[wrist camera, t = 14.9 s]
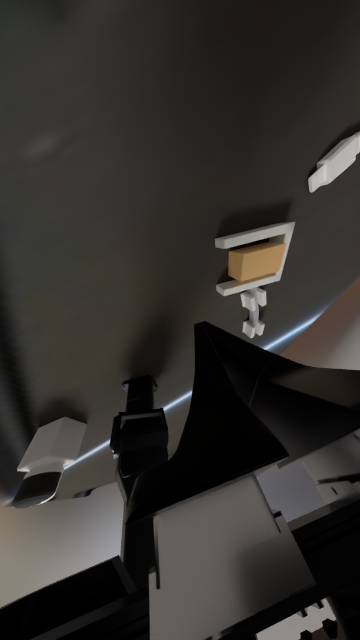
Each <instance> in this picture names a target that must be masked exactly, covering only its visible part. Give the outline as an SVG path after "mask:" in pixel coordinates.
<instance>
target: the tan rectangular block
mask: <svg viewBox="0 0 360 640" xmlns="http://www.w3.org/2000/svg"><path fill="white" fill-rule="evenodd" d="M285 246H286V243H273V242H264V243H260V244H256V245H253V246H249V247H245V248H241V249H237V250H233V251H229V266H228V276H230V277H232V278H234V279H236V280H238V281H240V282H242V281H245V280H249V279H253V278H256V277H260V276H263V275H267V274H271V273H274V272H278V271H279V270H280V266H281V262H282V258H283V254H284V250H285Z"/></svg>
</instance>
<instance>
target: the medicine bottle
mask: <svg viewBox="0 0 360 640" xmlns="http://www.w3.org/2000/svg"><path fill="white" fill-rule="evenodd" d="M86 426H87V424H85V423H82V422H80V421H77V420H74V419H71V418H69V417H66V416H65V417H63V418H60V419H58V420H56V421H53V422H51V423H49V424H47V425H44V426H42V427H40V428H39V429H38V430H37V432H36V434H35V436H34V438H33V440H32V442H31V444H30V445H29V447H28V449H27V451H26V453H25V455H24V457H23V459H22V460H21V462H20V464H19V466H18V468H17V471H28V473H27V474H26V475H25V477H24V479H23V481H22V483H21V486H20V488H19V490H18V492H17V494H16V496H15V498H14V500H13V502H12V505H13V506H14V507H16V508H26V507H31V506H35V505H39V504H42V503H44V502H46V501H48V500H49V499H51V498H52V497H53V496H54V495H55V494H56V491H57V488H58V485H59V482H60V479H61V476H62V473H63V470H64V468H63V466H65V465H67V464H70V463H72V462H74V461H76V459H77V456H78V453H79V450H80V446H81V443H82V439H83V436H84V432H85V429H86Z"/></svg>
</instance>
